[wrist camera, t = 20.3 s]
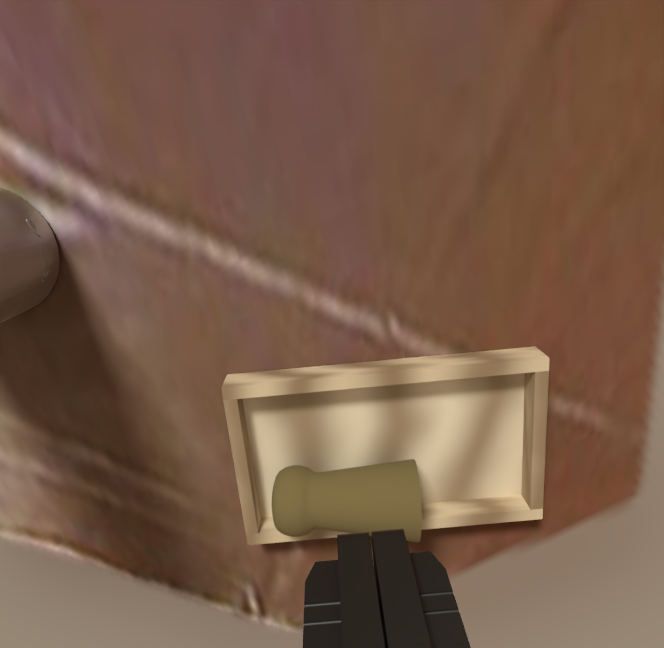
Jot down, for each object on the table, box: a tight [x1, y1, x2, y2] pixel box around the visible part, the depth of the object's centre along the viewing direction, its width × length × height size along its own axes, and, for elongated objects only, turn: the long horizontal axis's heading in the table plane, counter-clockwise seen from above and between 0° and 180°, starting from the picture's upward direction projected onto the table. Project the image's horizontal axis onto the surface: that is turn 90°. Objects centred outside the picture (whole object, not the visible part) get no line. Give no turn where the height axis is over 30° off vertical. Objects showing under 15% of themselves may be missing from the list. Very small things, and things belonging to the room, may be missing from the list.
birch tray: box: [221, 347, 549, 545], centre depth 40 cm, size 24×14×2 cm, turn 95°
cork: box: [271, 459, 422, 542], centre depth 38 cm, size 6×6×11 cm
